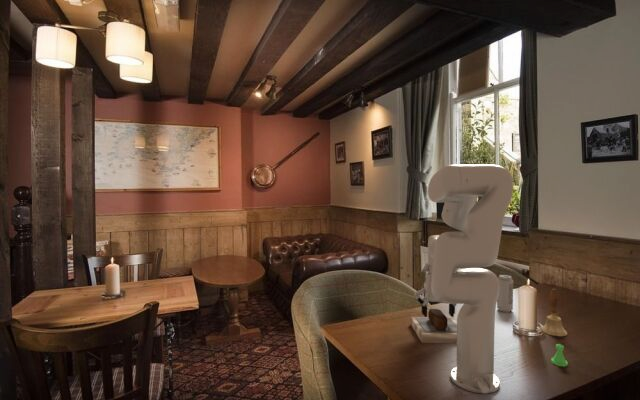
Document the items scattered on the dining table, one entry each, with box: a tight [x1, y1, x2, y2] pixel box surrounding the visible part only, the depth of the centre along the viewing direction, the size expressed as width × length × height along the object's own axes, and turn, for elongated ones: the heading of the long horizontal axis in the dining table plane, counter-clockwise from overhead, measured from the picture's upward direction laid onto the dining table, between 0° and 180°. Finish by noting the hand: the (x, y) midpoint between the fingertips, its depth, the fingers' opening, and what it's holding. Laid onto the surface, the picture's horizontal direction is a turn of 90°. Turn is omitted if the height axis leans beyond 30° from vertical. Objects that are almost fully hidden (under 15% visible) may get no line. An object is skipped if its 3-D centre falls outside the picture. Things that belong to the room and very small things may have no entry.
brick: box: [427, 308, 448, 330], centre depth 132 cm, size 11×4×5 cm, turn 179°
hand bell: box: [540, 288, 568, 337], centre depth 132 cm, size 8×8×16 cm
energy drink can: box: [496, 274, 514, 313], centre depth 154 cm, size 6×6×15 cm
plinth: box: [410, 316, 457, 344], centre depth 132 cm, size 16×16×3 cm
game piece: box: [550, 343, 569, 368], centre depth 110 cm, size 4×4×6 cm
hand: (438, 315), depth 132 cm, fingers open, 9 cm apart
